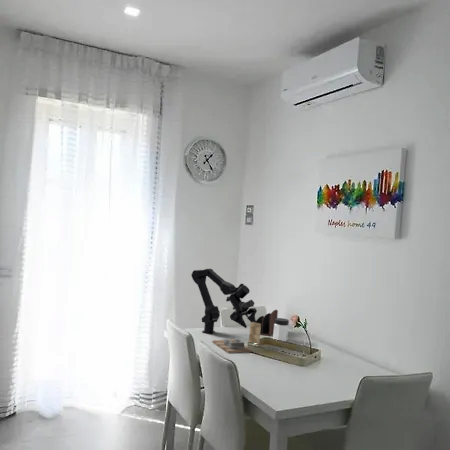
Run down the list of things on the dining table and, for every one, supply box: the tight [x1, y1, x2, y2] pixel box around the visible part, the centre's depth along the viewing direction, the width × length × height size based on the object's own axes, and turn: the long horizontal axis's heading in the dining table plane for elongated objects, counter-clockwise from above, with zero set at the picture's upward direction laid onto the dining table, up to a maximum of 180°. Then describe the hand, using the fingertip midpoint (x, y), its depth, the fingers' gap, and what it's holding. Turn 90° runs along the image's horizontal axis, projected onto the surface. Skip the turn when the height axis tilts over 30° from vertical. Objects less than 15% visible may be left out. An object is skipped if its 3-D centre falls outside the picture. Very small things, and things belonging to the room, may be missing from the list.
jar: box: [272, 317, 290, 342], centre depth 287 cm, size 9×8×12 cm
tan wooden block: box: [248, 322, 261, 345], centre depth 268 cm, size 5×3×12 cm, turn 51°
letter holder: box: [255, 309, 279, 337], centre depth 303 cm, size 10×20×14 cm, turn 162°
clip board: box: [211, 337, 253, 354], centre depth 261 cm, size 20×14×4 cm
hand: (251, 326), depth 270 cm, fingers open, 9 cm apart
